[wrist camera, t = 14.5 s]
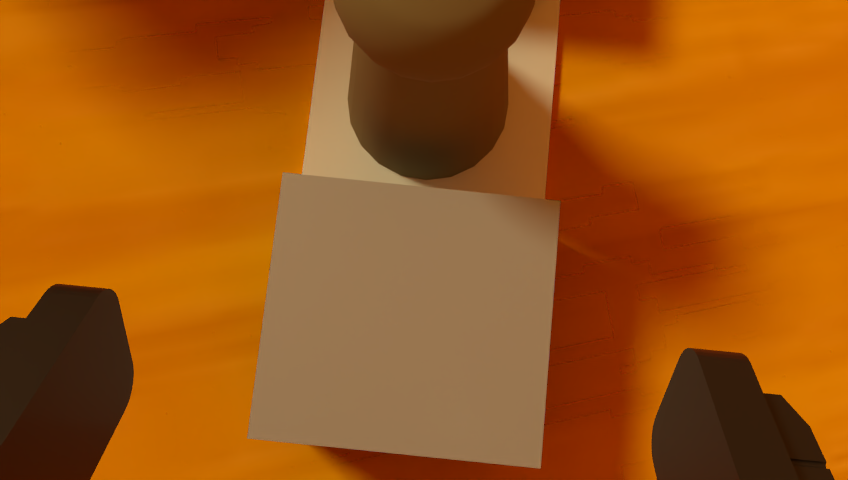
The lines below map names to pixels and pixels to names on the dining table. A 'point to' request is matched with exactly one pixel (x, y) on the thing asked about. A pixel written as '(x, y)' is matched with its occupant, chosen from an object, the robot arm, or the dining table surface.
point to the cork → (430, 79)
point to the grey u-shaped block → (414, 282)
